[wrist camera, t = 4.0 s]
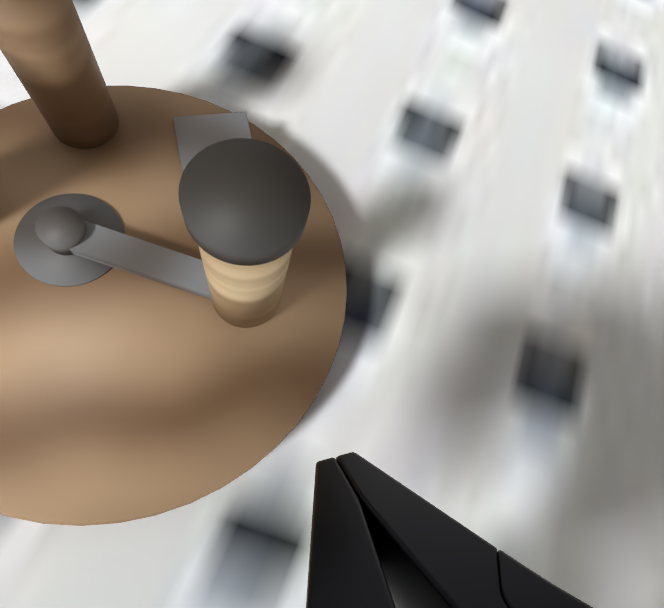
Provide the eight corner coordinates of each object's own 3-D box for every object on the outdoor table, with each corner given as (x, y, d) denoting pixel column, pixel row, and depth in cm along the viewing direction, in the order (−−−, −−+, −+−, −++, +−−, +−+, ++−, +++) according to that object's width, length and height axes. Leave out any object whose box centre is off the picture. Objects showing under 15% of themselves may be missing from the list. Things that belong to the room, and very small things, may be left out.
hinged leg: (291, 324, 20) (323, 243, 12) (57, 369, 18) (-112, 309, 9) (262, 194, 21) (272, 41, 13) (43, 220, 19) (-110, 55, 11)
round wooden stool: (379, 447, 22) (504, 457, 11) (-105, 580, 17) (-686, 815, 6) (292, 106, 27) (323, -114, 16) (-105, 136, 22) (-440, -151, 11)
